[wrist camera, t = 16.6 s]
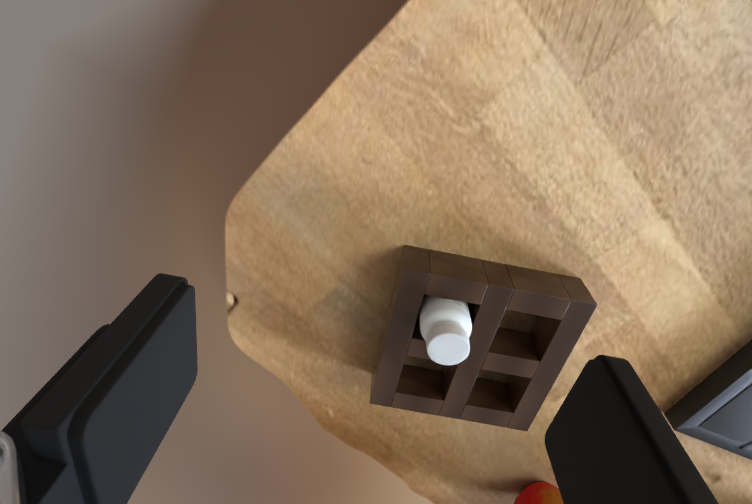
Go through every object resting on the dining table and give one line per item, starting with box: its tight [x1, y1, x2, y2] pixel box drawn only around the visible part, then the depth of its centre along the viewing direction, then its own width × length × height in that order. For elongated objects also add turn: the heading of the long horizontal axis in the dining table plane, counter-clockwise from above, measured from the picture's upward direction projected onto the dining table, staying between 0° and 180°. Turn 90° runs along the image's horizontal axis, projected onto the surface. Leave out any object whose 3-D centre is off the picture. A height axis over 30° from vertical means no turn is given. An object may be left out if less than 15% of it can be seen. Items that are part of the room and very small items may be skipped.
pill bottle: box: [419, 293, 472, 365], centre depth 37 cm, size 4×4×8 cm
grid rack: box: [370, 245, 597, 431], centre depth 41 cm, size 16×16×4 cm
